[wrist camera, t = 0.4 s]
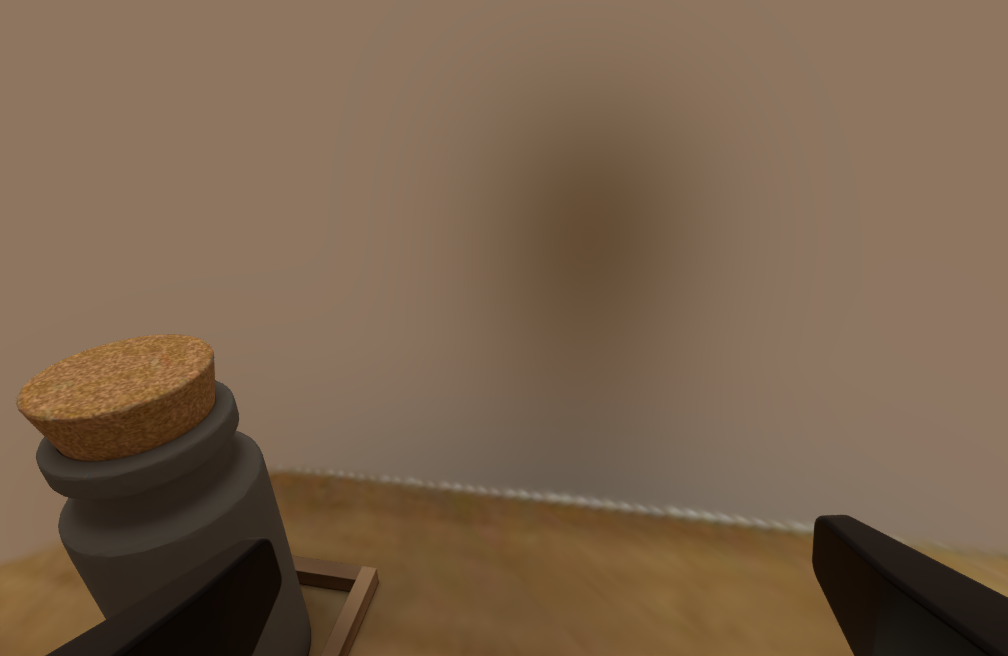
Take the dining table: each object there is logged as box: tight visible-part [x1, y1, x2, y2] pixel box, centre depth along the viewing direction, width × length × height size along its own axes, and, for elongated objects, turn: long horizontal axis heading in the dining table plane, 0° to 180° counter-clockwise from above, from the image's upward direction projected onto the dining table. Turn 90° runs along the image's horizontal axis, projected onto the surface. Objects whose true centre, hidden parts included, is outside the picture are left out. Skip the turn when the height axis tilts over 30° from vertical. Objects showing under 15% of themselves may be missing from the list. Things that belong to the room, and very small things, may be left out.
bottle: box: [16, 334, 311, 656], centre depth 17 cm, size 6×6×15 cm
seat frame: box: [292, 556, 379, 656], centre depth 20 cm, size 9×9×1 cm
